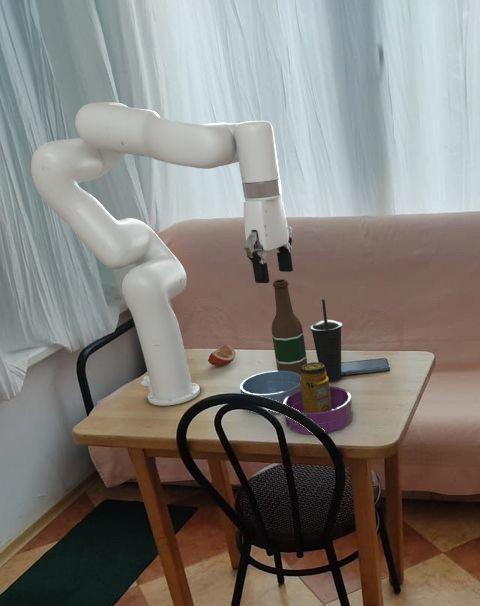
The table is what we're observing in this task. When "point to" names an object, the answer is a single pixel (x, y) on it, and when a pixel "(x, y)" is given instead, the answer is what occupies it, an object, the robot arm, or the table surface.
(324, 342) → the drinking cup
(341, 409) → the plum bowl
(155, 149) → the robot arm
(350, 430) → the table surface
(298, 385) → the slate bowl
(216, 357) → the fruit slice
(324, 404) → the condiment
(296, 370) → the beer bottle
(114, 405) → the table surface
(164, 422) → the table surface
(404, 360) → the table surface
